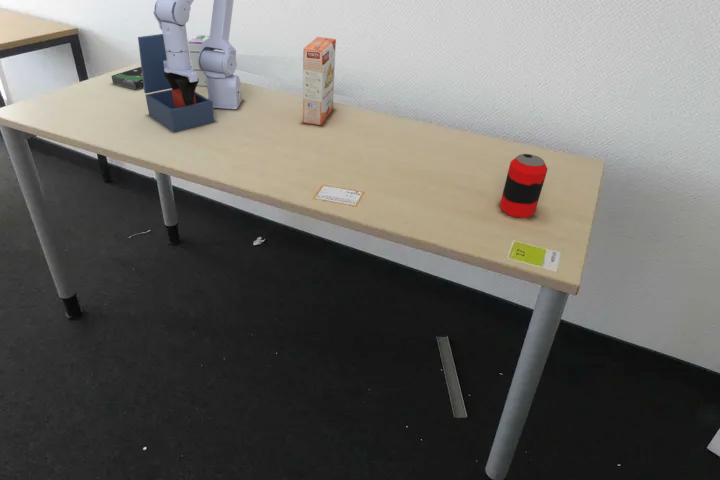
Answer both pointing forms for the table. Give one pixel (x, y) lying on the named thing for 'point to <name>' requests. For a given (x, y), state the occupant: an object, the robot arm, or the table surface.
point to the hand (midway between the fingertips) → (184, 101)
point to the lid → (153, 63)
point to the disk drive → (129, 78)
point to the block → (179, 98)
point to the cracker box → (318, 80)
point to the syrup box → (194, 50)
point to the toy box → (179, 111)
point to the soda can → (523, 185)
